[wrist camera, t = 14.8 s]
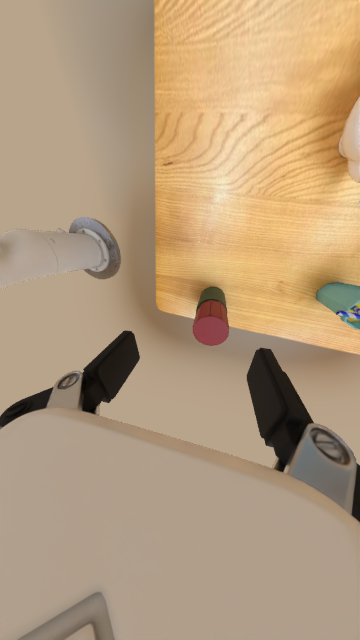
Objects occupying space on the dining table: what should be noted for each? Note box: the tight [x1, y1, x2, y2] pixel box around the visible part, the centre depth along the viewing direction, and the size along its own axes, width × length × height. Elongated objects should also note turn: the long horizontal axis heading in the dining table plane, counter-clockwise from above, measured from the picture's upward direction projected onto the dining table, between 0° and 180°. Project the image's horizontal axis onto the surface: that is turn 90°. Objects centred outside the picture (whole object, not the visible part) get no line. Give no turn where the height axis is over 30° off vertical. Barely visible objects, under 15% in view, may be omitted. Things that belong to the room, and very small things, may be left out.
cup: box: [316, 282, 360, 329], centre depth 25 cm, size 14×8×15 cm, turn 85°
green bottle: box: [196, 287, 227, 314], centre depth 33 cm, size 7×7×15 cm
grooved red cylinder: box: [193, 300, 229, 346], centre depth 27 cm, size 7×7×8 cm
